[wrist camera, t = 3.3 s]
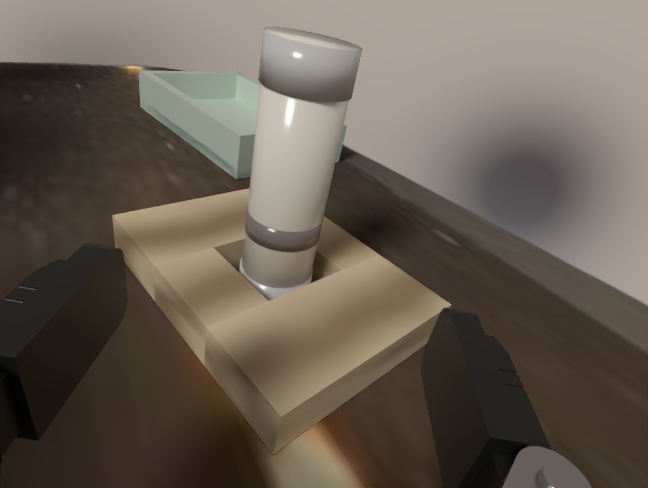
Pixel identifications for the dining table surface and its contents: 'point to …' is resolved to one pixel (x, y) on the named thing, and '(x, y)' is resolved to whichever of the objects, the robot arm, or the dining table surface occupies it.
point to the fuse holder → (276, 312)
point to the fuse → (294, 154)
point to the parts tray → (209, 113)
